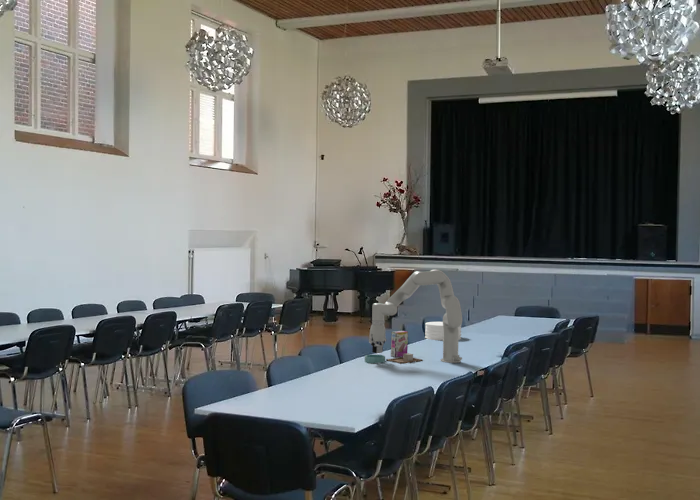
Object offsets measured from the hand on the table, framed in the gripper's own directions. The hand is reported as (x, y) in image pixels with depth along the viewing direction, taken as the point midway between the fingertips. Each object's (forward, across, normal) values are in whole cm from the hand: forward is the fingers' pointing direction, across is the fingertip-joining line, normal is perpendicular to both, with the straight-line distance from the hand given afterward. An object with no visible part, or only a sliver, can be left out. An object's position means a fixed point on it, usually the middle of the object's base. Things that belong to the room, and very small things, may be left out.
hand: (377, 352), depth 468 cm
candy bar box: (+6, -27, -8) cm, 29 cm away
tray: (+6, -16, +8) cm, 19 cm away
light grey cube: (0, 0, 0) cm, 0 cm away
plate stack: (+6, -120, -55) cm, 132 cm away
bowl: (+6, 0, -2) cm, 7 cm away
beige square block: (+6, -16, +11) cm, 20 cm away
